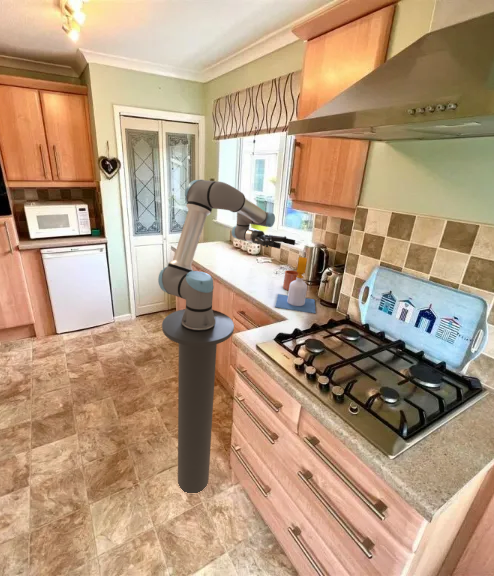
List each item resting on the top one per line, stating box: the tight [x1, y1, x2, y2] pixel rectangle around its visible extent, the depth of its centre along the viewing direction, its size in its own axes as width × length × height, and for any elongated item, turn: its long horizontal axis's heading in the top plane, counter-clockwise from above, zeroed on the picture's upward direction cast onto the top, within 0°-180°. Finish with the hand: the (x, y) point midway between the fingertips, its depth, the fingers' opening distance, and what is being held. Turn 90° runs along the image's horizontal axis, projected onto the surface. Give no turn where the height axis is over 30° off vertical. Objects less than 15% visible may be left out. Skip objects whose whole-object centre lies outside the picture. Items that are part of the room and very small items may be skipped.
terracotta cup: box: [282, 269, 299, 292], centre depth 180 cm, size 8×8×10 cm
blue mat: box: [274, 293, 316, 315], centre depth 161 cm, size 20×18×1 cm
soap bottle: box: [287, 256, 308, 306], centre depth 157 cm, size 9×9×25 cm
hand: (287, 244), depth 157 cm, fingers open, 13 cm apart
